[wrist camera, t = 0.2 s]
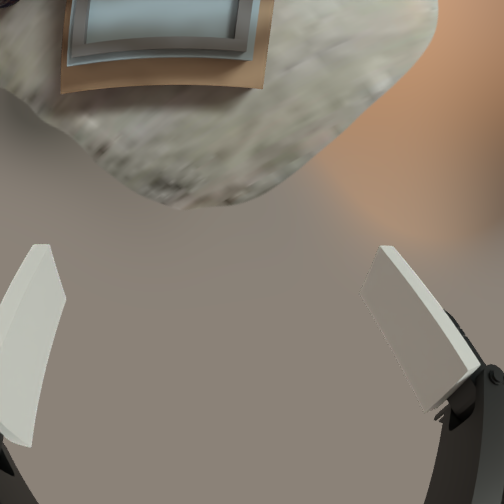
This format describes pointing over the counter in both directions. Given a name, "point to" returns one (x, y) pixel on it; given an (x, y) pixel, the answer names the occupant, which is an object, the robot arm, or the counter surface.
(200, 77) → the tower base
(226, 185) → the counter surface
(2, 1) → the dark blue cylinder
